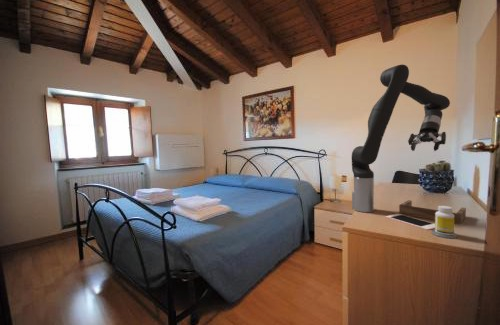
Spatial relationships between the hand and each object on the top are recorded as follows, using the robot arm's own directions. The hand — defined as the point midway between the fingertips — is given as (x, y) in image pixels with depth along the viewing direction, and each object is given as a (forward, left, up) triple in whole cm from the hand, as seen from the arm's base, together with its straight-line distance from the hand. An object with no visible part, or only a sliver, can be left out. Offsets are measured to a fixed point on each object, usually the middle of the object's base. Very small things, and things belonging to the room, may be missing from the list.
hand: (423, 149), depth 107 cm
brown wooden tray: (+4, -1, -31) cm, 31 cm away
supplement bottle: (+15, -25, -30) cm, 42 cm away
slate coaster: (+15, -25, -31) cm, 42 cm away
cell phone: (+2, -18, -31) cm, 36 cm away
